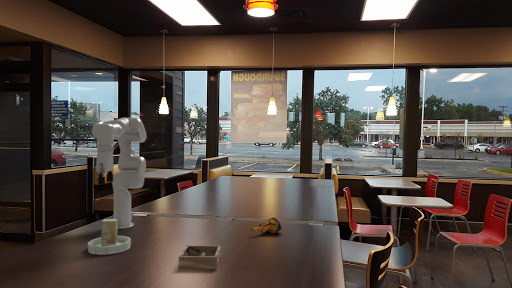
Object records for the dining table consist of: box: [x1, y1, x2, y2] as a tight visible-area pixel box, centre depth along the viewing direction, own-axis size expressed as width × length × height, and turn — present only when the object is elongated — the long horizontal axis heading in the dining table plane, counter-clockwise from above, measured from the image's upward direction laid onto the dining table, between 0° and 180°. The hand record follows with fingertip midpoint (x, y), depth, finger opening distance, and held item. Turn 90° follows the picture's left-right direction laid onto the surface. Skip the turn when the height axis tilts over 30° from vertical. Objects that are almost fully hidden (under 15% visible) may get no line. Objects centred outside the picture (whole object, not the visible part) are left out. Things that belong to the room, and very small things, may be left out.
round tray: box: [87, 235, 132, 256], centre depth 160 cm, size 18×18×3 cm
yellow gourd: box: [248, 217, 282, 236], centre depth 185 cm, size 9×11×18 cm
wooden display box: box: [178, 244, 222, 270], centre depth 143 cm, size 15×15×4 cm
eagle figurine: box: [186, 246, 208, 256], centre depth 142 cm, size 8×7×9 cm
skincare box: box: [100, 218, 119, 246], centre depth 160 cm, size 6×4×12 cm
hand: (105, 183), depth 172 cm, fingers open, 9 cm apart
